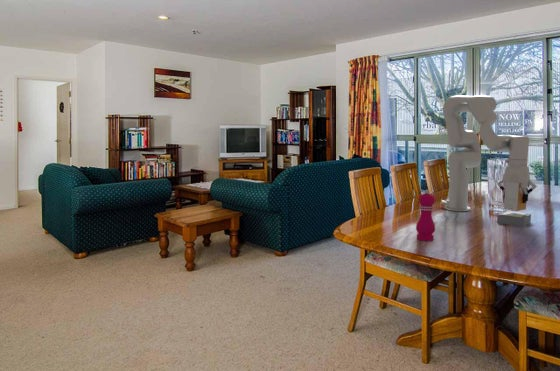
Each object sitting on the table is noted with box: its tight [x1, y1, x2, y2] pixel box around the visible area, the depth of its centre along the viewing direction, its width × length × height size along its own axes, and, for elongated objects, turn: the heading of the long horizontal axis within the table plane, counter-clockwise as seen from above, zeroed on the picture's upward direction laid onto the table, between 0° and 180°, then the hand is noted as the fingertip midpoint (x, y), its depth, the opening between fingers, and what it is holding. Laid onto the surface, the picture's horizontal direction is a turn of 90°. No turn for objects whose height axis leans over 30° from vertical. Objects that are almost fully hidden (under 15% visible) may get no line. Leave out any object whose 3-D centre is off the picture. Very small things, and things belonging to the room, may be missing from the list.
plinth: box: [496, 210, 532, 228], centre depth 198 cm, size 11×11×4 cm
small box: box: [503, 182, 527, 212], centre depth 196 cm, size 8×6×13 cm
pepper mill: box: [415, 189, 436, 242], centre depth 170 cm, size 7×7×20 cm
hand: (515, 201), depth 197 cm, fingers closed on small box, 7 cm apart
